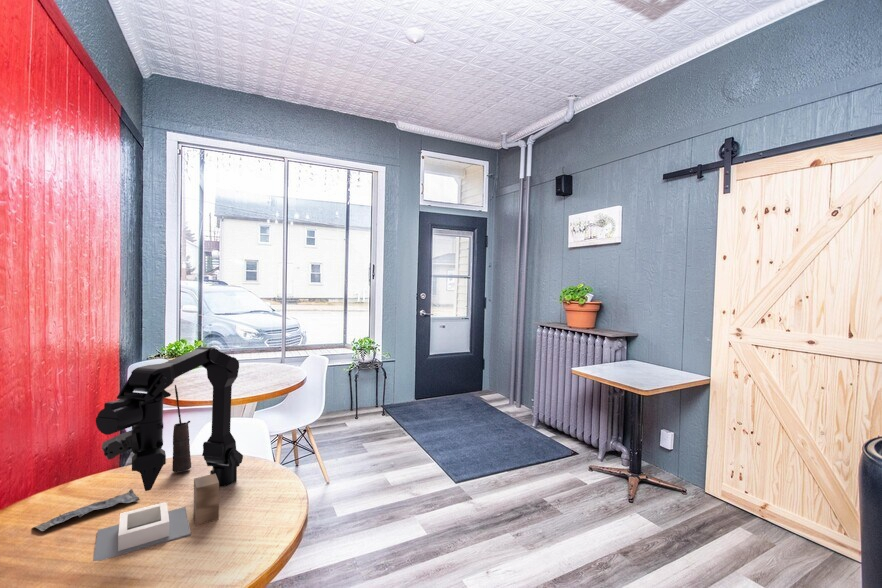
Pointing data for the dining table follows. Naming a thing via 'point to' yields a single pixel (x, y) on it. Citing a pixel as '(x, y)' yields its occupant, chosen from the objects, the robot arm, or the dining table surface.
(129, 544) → the square frame on plate
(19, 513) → the dining table surface
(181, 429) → the butter churn
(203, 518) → the wooden block
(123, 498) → the grey flat stone bar
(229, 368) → the robot arm
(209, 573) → the dining table surface
